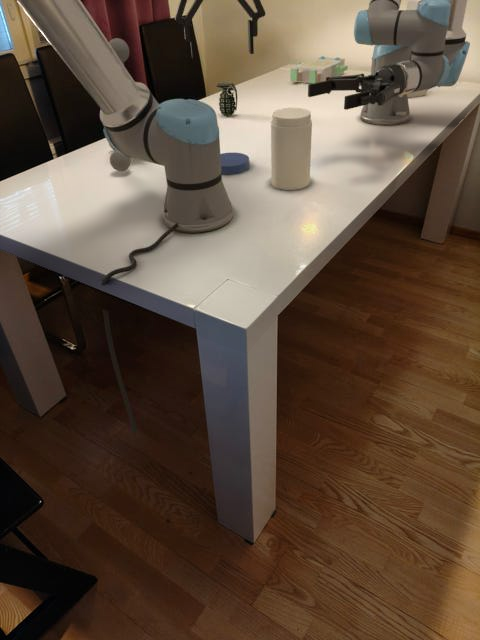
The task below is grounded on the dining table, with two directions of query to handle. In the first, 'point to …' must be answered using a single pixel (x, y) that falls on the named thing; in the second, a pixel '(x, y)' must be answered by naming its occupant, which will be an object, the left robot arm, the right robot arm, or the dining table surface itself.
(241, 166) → the lid
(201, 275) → the dining table surface
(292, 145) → the jar
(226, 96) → the grenade
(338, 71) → the decorative block
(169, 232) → the left robot arm
